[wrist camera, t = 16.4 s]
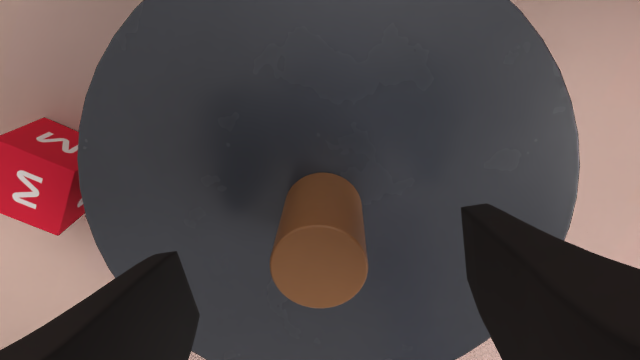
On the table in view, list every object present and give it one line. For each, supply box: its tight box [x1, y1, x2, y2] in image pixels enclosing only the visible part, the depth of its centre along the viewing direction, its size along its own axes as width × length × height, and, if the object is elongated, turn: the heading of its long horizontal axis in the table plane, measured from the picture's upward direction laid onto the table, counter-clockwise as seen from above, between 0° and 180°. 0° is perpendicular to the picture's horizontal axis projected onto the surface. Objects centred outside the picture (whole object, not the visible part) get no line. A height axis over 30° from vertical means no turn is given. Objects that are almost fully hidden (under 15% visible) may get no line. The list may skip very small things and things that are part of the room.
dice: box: [0, 118, 85, 236], centre depth 18 cm, size 3×3×3 cm
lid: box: [77, 0, 580, 360], centre depth 13 cm, size 15×15×4 cm
